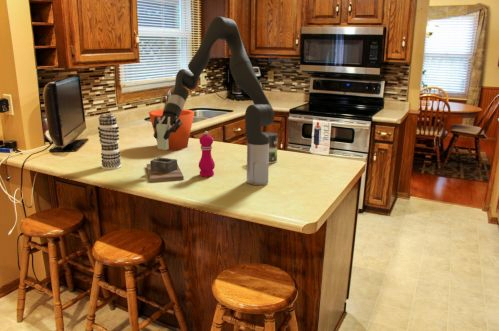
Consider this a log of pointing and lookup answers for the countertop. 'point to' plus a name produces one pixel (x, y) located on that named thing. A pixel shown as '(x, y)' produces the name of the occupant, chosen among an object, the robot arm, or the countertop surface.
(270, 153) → the coffee can
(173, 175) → the brown piece
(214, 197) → the countertop surface
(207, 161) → the pepper mill
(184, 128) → the flowerpot
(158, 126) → the slat
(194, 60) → the robot arm
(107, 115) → the decorative candle
